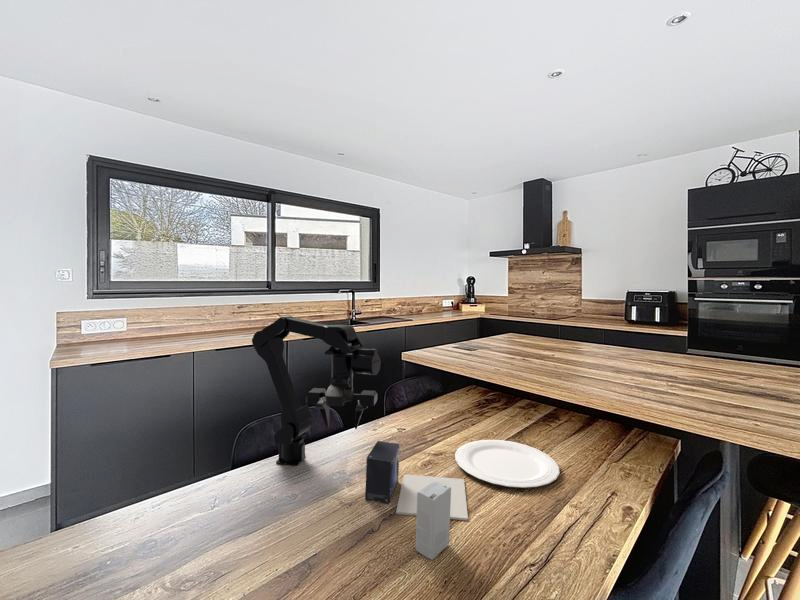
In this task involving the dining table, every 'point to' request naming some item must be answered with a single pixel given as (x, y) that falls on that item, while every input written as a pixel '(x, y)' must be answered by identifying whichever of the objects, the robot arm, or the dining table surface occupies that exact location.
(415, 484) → the mat
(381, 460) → the small box
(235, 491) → the dining table surface
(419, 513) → the skincare box
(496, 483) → the plate
